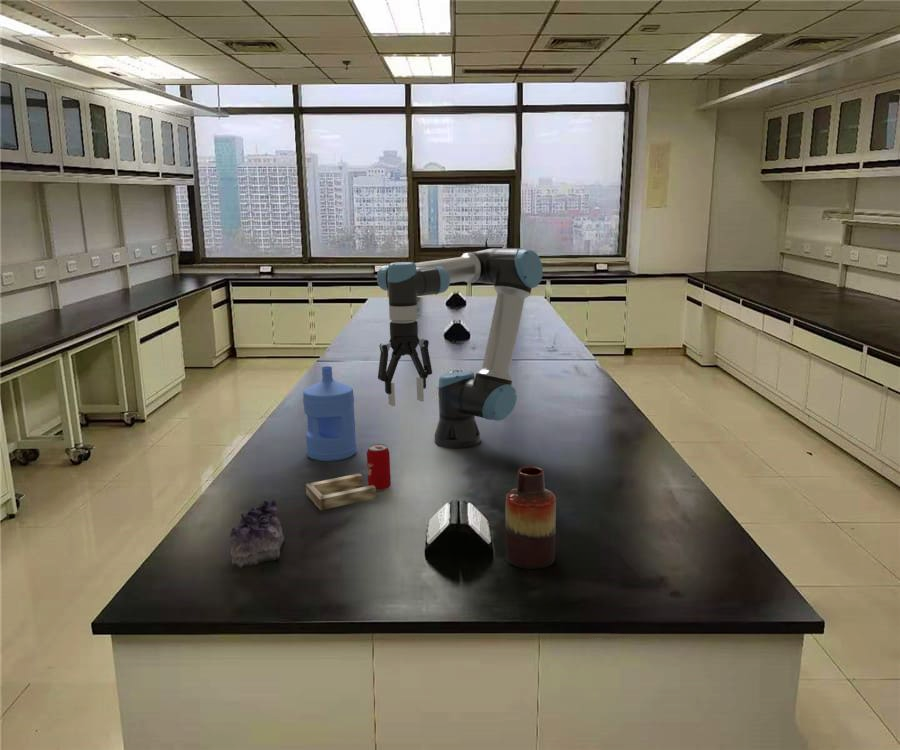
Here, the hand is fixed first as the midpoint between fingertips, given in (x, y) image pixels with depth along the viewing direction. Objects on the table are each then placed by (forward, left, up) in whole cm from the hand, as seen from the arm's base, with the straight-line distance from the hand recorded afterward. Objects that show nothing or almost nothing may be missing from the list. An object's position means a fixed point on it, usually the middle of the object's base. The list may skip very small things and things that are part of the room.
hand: (406, 402), depth 194 cm
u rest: (+20, 0, -23) cm, 31 cm away
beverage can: (+9, 0, -23) cm, 25 cm away
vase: (-4, +54, -23) cm, 59 cm away
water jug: (+11, -34, -23) cm, 43 cm away
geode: (+47, +19, -24) cm, 56 cm away
